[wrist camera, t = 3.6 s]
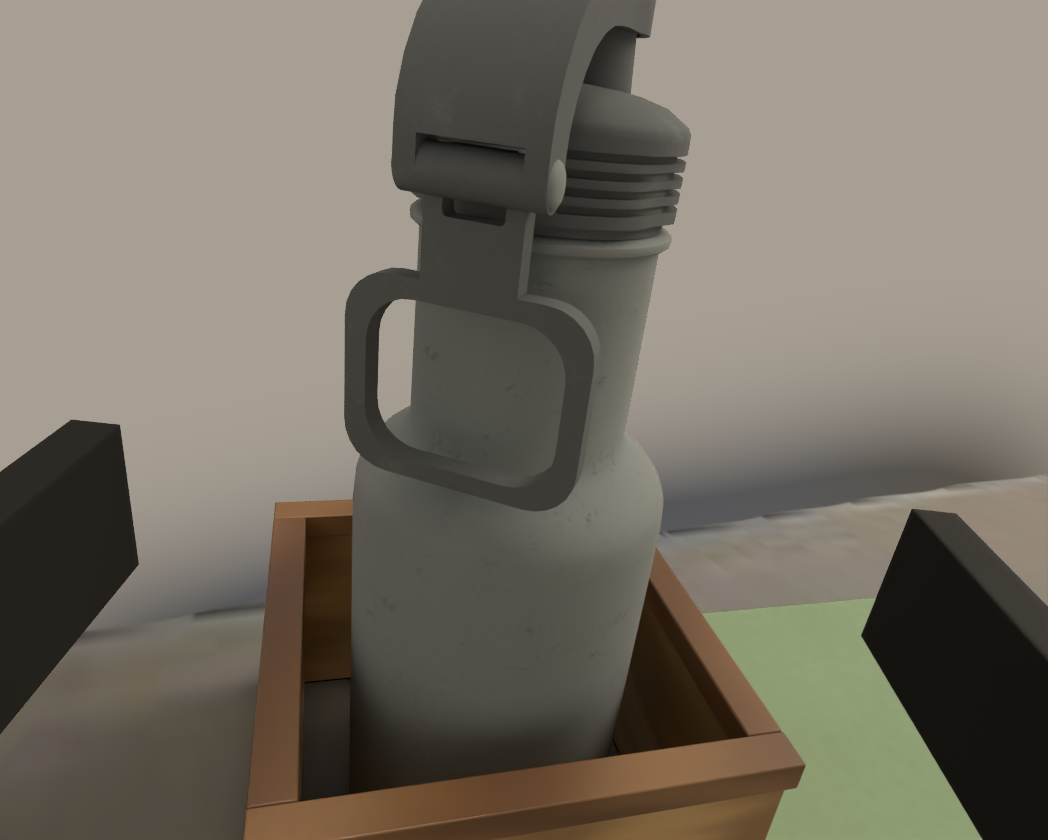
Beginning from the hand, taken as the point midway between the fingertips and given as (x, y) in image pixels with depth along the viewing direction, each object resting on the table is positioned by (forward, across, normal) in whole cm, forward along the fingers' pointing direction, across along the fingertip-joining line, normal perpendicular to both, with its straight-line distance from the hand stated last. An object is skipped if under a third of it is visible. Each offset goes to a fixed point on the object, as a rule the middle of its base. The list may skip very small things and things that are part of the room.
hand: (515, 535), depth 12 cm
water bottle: (+10, 0, -19) cm, 21 cm away
